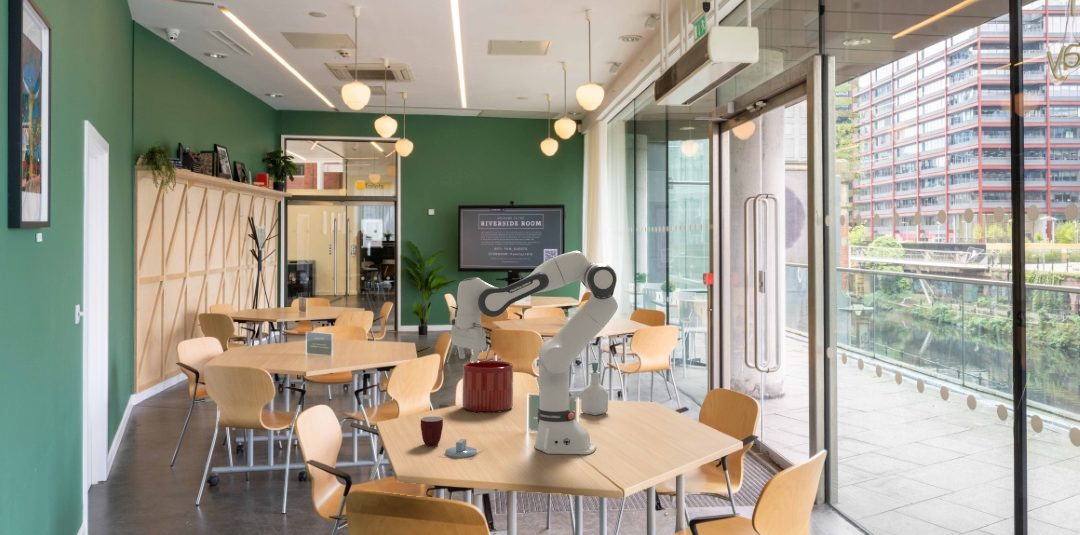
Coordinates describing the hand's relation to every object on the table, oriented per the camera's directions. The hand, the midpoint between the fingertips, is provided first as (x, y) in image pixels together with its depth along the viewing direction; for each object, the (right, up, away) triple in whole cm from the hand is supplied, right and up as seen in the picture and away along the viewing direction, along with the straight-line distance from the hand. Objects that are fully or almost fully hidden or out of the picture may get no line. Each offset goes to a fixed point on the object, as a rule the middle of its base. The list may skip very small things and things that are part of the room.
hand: (468, 360), depth 261 cm
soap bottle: (+50, -32, +59) cm, 84 cm away
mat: (-2, -32, -9) cm, 33 cm away
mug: (-13, -32, +1) cm, 35 cm away
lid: (-1, -32, -9) cm, 33 cm away
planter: (+2, -31, +68) cm, 75 cm away
